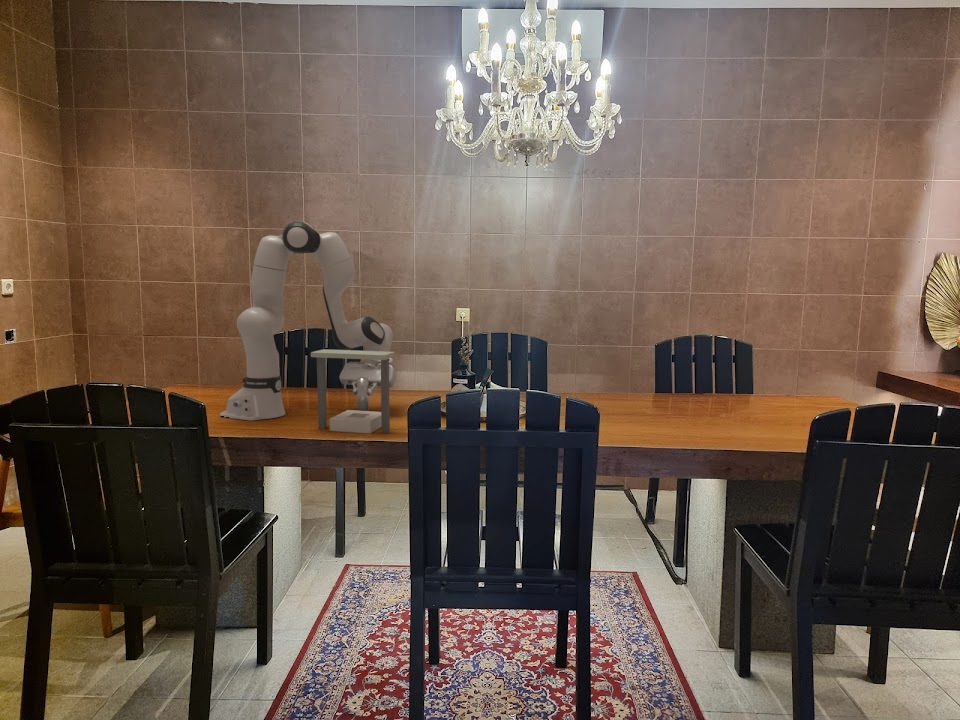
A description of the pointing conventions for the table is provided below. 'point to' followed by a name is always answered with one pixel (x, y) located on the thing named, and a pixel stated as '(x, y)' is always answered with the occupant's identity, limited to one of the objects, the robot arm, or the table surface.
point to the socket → (356, 421)
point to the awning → (353, 355)
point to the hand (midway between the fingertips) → (362, 394)
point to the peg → (362, 394)
